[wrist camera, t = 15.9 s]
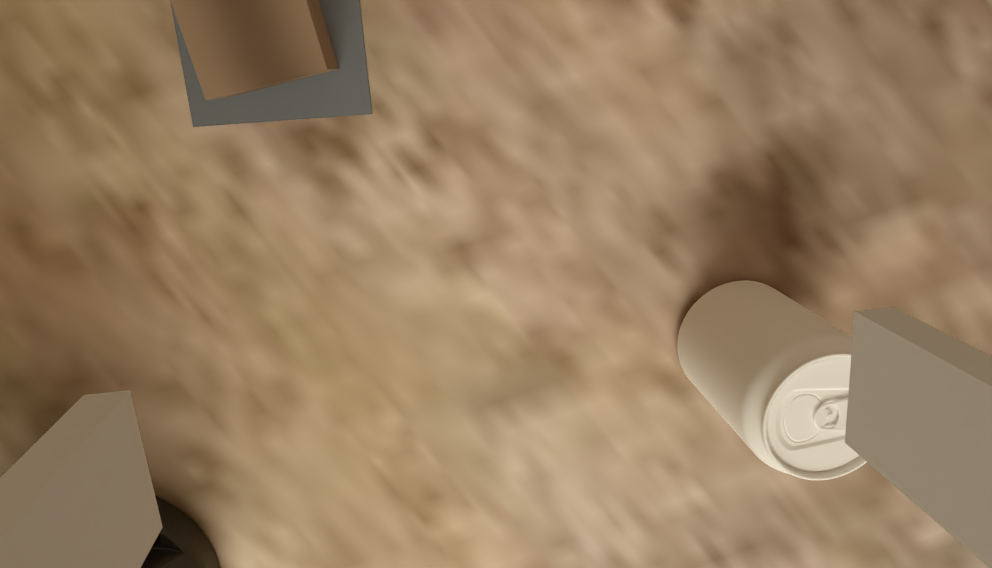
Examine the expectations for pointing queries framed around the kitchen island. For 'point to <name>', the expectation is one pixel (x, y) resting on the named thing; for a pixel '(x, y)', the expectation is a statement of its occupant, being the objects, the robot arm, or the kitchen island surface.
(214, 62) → the walnut block
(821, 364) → the beverage can
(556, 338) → the kitchen island surface
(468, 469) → the kitchen island surface
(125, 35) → the kitchen island surface
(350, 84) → the code tile
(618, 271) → the kitchen island surface
